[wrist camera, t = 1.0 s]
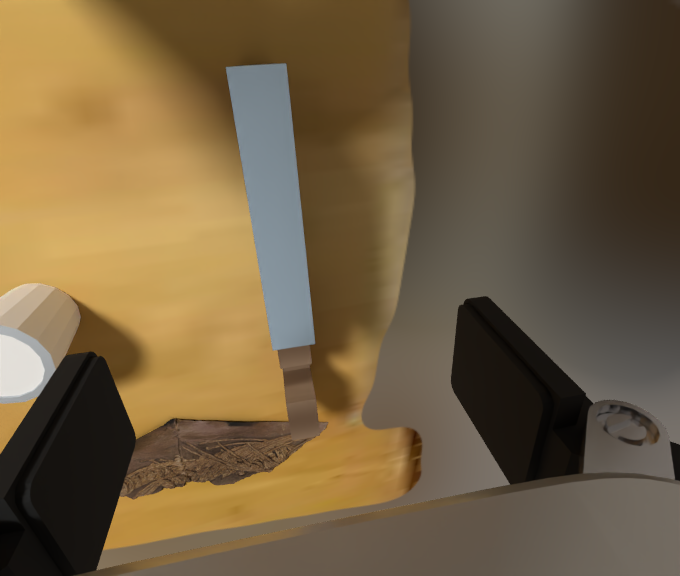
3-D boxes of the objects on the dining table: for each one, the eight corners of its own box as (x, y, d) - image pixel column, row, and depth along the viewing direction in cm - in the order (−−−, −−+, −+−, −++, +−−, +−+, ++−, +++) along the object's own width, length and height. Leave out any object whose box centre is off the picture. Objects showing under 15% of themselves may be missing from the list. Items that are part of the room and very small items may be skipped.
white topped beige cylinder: (102, 337, 36) (72, 392, 30) (21, 354, 36) (-27, 414, 30) (66, 267, 33) (23, 314, 27) (-25, 286, 32) (-90, 337, 26)
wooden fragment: (97, 501, 46) (94, 510, 45) (64, 429, 41) (60, 438, 40) (328, 462, 50) (329, 470, 49) (325, 393, 45) (326, 399, 44)
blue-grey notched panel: (237, 65, 29) (225, 67, 16) (272, 63, 29) (286, 63, 17) (266, 252, 35) (272, 350, 23) (294, 248, 36) (315, 343, 24)
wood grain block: (269, 273, 36) (273, 322, 29) (296, 269, 37) (306, 317, 30) (285, 378, 42) (291, 440, 35) (309, 374, 42) (319, 435, 35)
